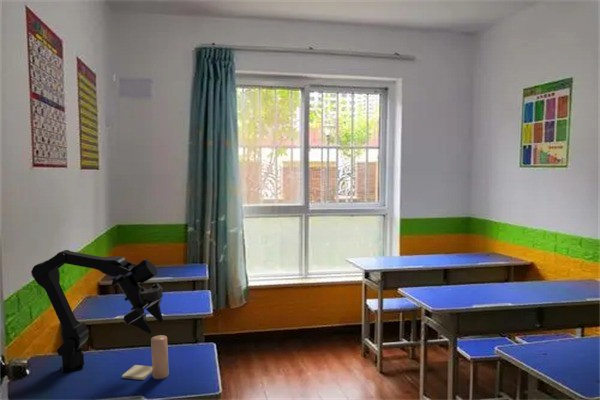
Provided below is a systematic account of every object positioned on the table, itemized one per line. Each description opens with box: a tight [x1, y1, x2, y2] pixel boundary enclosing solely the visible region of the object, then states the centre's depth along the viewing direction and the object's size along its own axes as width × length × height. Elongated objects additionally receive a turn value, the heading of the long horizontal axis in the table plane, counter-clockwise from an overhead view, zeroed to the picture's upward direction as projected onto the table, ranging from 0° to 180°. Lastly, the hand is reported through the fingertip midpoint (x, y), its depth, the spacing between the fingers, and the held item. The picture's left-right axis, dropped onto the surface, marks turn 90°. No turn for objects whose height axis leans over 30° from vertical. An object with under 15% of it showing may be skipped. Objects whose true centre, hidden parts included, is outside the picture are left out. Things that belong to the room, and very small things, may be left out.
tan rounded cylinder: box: [150, 335, 170, 380], centre depth 160 cm, size 5×5×13 cm
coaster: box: [121, 364, 153, 381], centre depth 162 cm, size 8×8×1 cm
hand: (156, 327), depth 166 cm, fingers open, 9 cm apart
